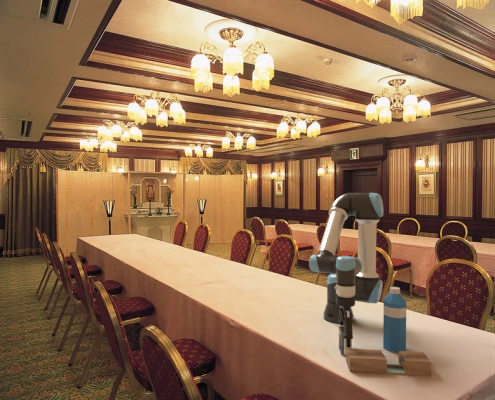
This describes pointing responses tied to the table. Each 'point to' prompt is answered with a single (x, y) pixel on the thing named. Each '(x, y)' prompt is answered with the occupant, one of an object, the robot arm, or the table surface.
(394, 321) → the water bottle
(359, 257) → the robot arm
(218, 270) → the table surface
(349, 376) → the table surface
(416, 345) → the table surface
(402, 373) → the rail
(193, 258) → the table surface
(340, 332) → the clip
